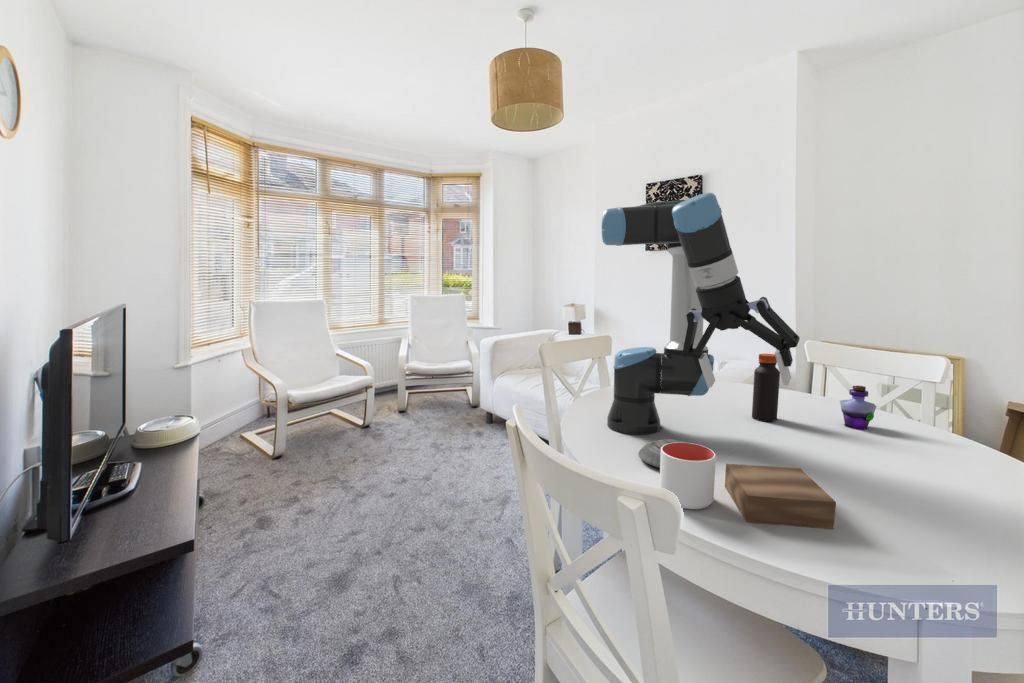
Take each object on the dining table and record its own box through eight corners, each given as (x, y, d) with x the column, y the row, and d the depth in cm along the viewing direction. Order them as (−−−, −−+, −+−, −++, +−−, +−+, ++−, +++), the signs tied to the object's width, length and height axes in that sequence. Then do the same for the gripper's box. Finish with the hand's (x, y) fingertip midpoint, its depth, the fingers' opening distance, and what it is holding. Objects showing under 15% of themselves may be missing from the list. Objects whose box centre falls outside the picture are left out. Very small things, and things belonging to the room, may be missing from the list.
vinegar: (781, 422, 134) (786, 356, 131) (758, 422, 134) (762, 356, 131) (769, 415, 141) (773, 352, 138) (747, 415, 141) (751, 353, 138)
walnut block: (724, 486, 93) (726, 463, 93) (798, 491, 91) (800, 468, 90) (746, 521, 80) (747, 495, 79) (833, 529, 77) (836, 501, 76)
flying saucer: (698, 481, 97) (699, 457, 96) (630, 467, 104) (630, 444, 104) (709, 457, 109) (710, 436, 108) (647, 446, 117) (648, 426, 116)
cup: (719, 514, 82) (721, 463, 81) (662, 509, 84) (664, 459, 83) (706, 489, 92) (709, 443, 91) (656, 486, 94) (657, 440, 93)
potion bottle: (870, 433, 123) (874, 391, 121) (833, 426, 130) (836, 385, 128) (878, 426, 128) (882, 386, 127) (842, 420, 135) (845, 381, 133)
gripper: (645, 301, 87) (678, 394, 92) (791, 273, 69) (821, 391, 74) (660, 287, 92) (690, 376, 97) (799, 257, 74) (827, 369, 79)
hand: (747, 382), depth 86 cm, fingers open, 13 cm apart
